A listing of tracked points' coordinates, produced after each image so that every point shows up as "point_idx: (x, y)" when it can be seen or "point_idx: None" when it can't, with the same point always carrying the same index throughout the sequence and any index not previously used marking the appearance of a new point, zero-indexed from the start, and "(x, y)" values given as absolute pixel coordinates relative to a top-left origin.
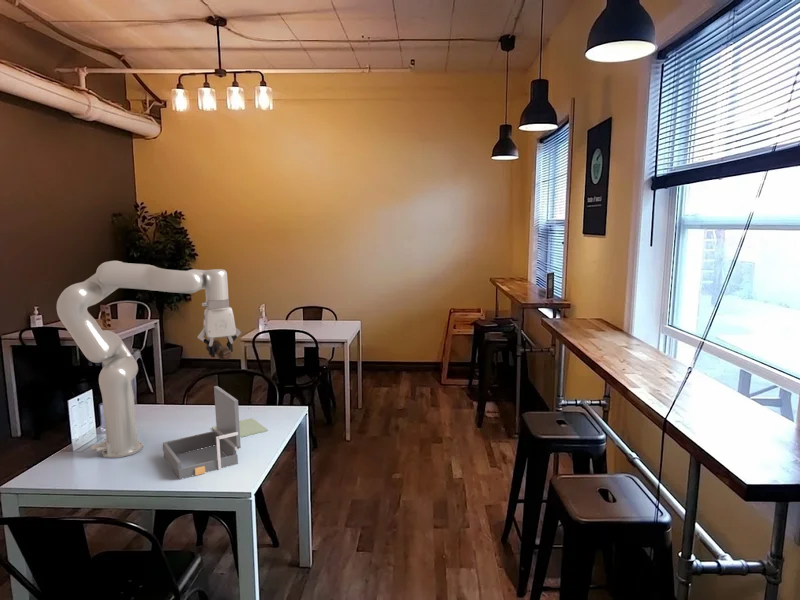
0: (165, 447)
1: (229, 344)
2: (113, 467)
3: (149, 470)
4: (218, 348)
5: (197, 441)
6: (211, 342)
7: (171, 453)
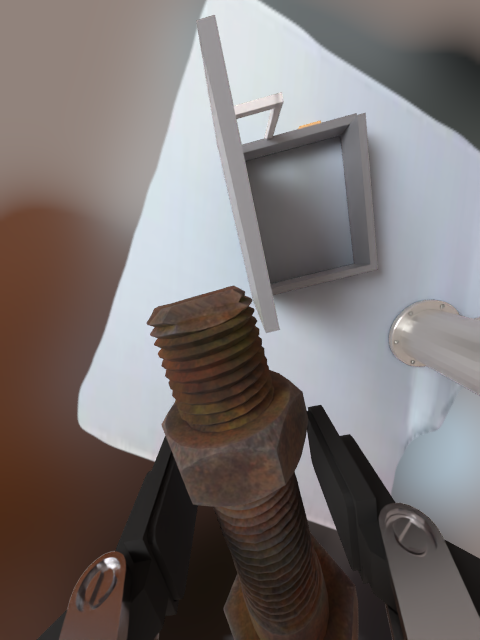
0: (374, 241)
1: (146, 536)
2: (448, 256)
3: (392, 208)
4: (289, 453)
5: (300, 279)
6: (421, 580)
7: (369, 186)
